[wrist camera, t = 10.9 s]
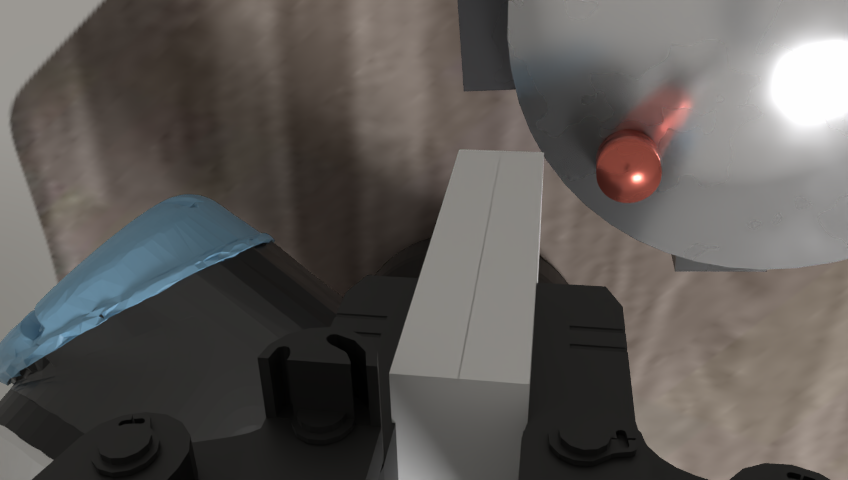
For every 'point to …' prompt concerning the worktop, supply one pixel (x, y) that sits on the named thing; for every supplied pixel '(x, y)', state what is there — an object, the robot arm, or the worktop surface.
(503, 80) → the pressure cooker pot
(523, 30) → the pot lid
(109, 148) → the worktop surface
